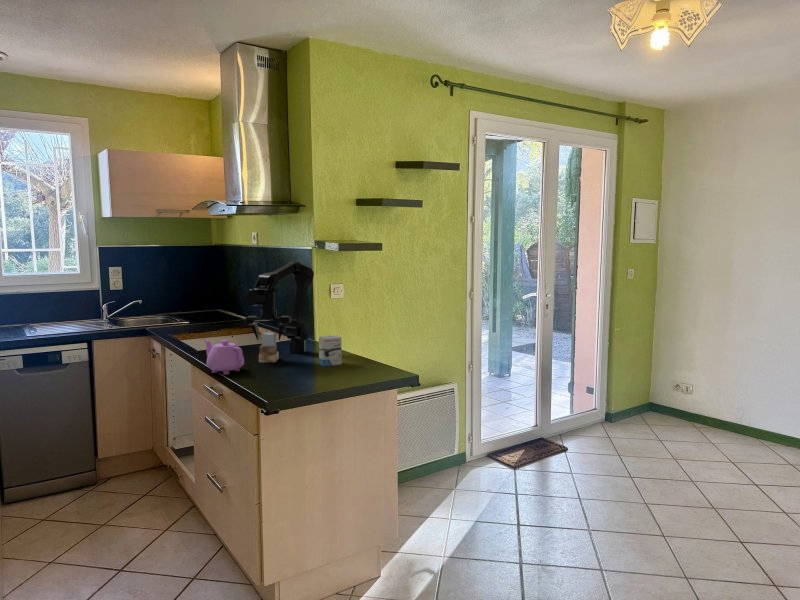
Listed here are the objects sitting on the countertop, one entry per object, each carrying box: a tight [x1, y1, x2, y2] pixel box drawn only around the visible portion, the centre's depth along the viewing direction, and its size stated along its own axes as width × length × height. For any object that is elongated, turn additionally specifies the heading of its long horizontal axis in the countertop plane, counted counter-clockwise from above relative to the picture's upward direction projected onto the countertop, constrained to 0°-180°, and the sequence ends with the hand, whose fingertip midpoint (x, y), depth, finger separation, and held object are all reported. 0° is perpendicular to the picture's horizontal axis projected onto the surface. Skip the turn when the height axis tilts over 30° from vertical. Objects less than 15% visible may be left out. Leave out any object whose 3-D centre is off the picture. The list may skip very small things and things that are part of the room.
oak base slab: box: [258, 351, 280, 363], centre depth 240 cm, size 7×7×4 cm
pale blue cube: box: [261, 332, 277, 346], centre depth 239 cm, size 5×5×5 cm
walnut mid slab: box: [259, 343, 278, 355], centre depth 239 cm, size 6×6×4 cm
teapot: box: [203, 338, 245, 376], centre depth 220 cm, size 20×14×12 cm
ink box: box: [318, 334, 343, 367], centre depth 233 cm, size 8×5×12 cm, turn 118°
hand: (268, 339), depth 239 cm, fingers open, 9 cm apart
